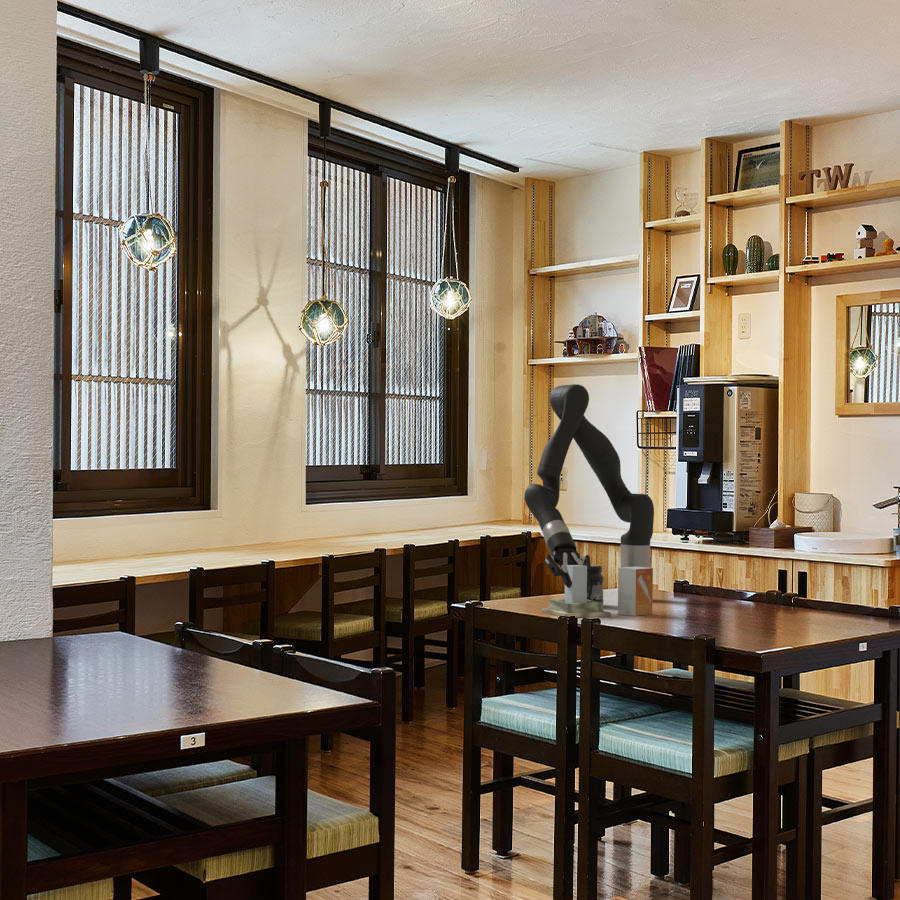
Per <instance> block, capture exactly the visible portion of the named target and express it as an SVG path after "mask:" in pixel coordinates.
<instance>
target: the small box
mask: <svg viewBox="0 0 900 900" xmlns="http://www.w3.org/2000/svg"><path fill="white" fill-rule="evenodd" d="M653 576H654V568H653V567H650V568H647V567H624V568H620V567H618V573H617V577H618V579H617V614H618V615H622V616H634V617H636V616H645V615H647V616H648V615H652V614H653V598H654V596H653V595H654V594H653V591H654V589H653V586H654V580H653V579H654V577H653Z"/></svg>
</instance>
